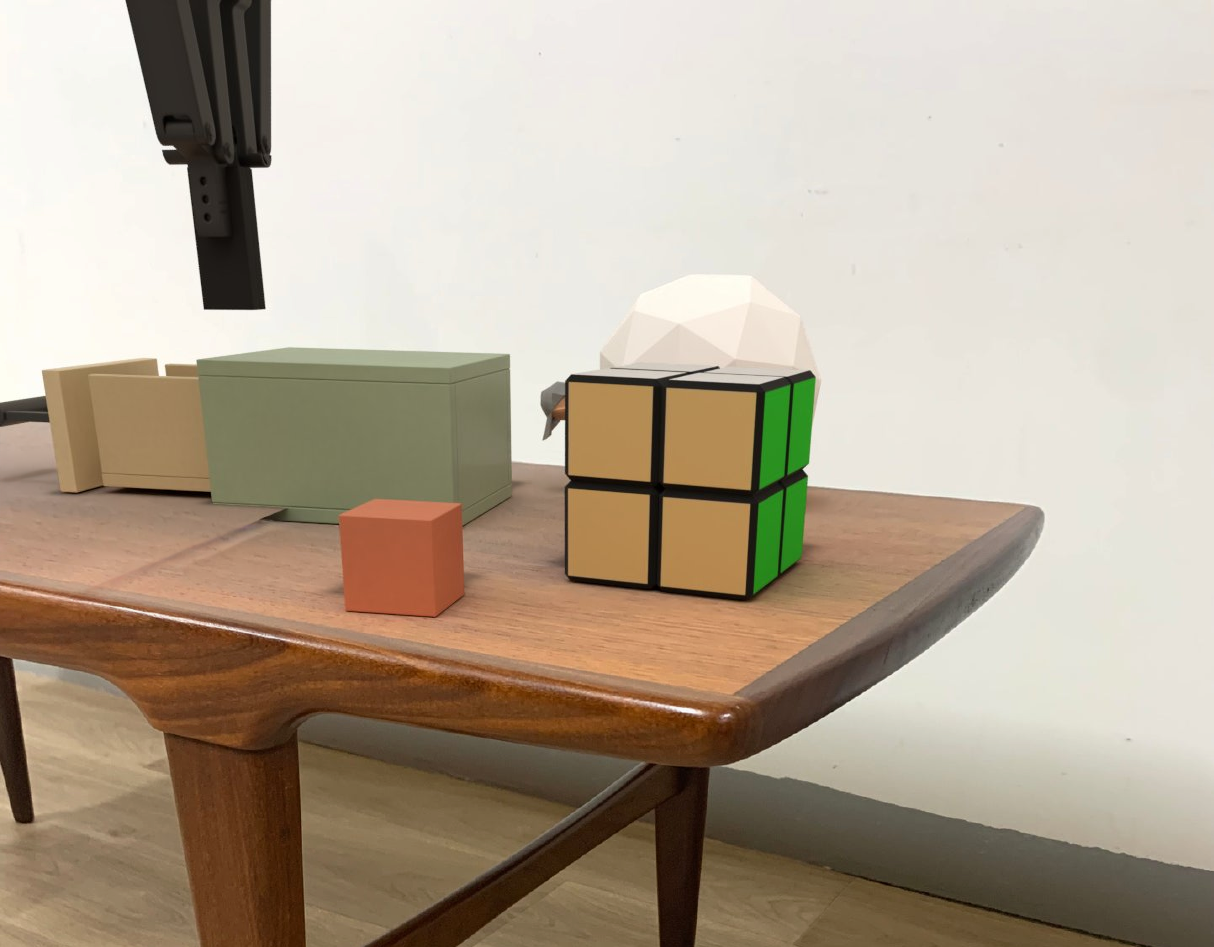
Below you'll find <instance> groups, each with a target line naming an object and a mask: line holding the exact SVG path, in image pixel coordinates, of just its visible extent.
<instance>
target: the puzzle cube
mask: <svg viewBox="0 0 1214 947" xmlns="http://www.w3.org/2000/svg"><path fill="white" fill-rule="evenodd" d="M815 381H816V377H815V375H814V374H813V373H812V372H811V370H796V369H775V368H754V367H733V366H729V367H725V368H720V367H719V366H707V365H685V364H664V363H643V362H642V363H636V364H630V365H624V366H618V367H612V368H610V369H608V368H606V369H600V368H599V369H594V370H589V371H583V372H577V373H571V374H570V375H569V376H568V377H567V378H566V379H565V380H564V383H565V420H564V474H565V476H566V477H567V478H568V479H569V482H568V483H566V485H565V486H564V575H565V576H566V577H567V579H568V580H569V581H570V582H578V583H588V584H597V585H605V586H616V587H625V588H633V589H634V588H635V589H643V590H651V589H653V588H655V587H656V586H657V587H658V588H659V589H660V590H661V592H666V593H676V594H684V595H685V594H686V595H695V596H702V597H703V596H704V597H710V598H711V597H713V598H720V599H721V598H722V599H730V600H740V601H748V600H749V599H751V598H753V596H754V595H756V594H757V593H759V591H761V590H762V589H763V588H764V587H766V586H767V585H769V584H770V583H771V582H773V581H774V580H775V579H776V578H778V577H780V575H781V574H783V573H784V572H786V571H787V570H788V569H789V568H790V567H792V566H794V565H795V564H796V563H797V562H798V561H799V560H801V559H802V557H803V547H804V546H803V545H804V536H805V521H806V507H807V506H806V505H807V497H808V496H807V494H808V485H809V484H808V482H809V475H808V474H807V473H806V471H805V470H804V469H805V468H806V467H807V466H808V465H810V456H811V445H812V431H813V424H812V420H813V421H814V419H813V407H814V394H815Z"/></svg>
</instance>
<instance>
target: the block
mask: <svg viewBox="0 0 1214 947" xmlns="http://www.w3.org/2000/svg"><path fill="white" fill-rule="evenodd" d="M338 526H339V540H340V541H339V542H340V553H341V554H340V555H341V567H342V569H341V570H342V580H343V581H342V583H343V597H344V610H345V611H346V612H359V613H374V614H387V615H402V616H403V615H404V616H416V617H417V616H418V617H429V618H430V617H431V618H436V617H437V616H439V615H440V614H442V612H444V611H445V610H446V609H448V608H449V607H451V605H453V604H455V602H457V601H458V600H460V598H462V597H463V596H465V594H466V592H465V567H464V562H465V561H464V533H463V532H464V531H463V530H464V529H463V526H462V504H461V503H445V502H426V501H407V500H388V499H373V500H371V501H369V502H367V503H365V504H362V505H360V506H358V507H356V508H353V509H351V510H349V511H347V512H345V513H342V514H340V515H339V524H338Z"/></svg>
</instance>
